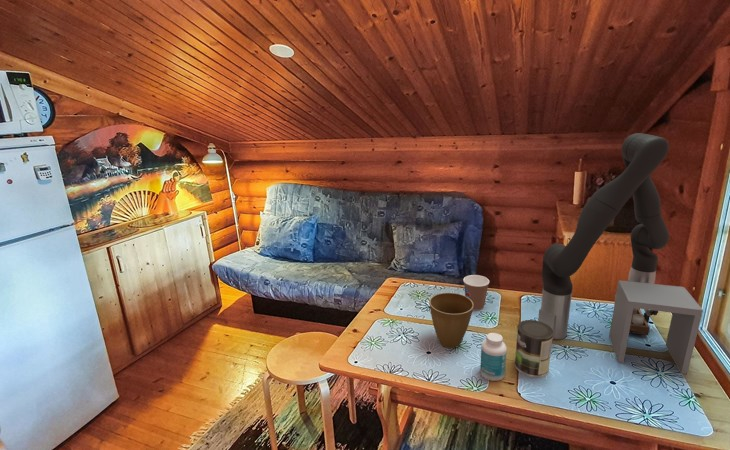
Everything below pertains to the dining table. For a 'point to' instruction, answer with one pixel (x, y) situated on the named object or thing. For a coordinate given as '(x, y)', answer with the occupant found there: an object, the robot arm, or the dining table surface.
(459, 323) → the plant pot
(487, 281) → the coffee cup
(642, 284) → the grey hollow frame
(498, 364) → the pill bottle
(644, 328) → the tray
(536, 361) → the coffee can
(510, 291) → the dining table surface
